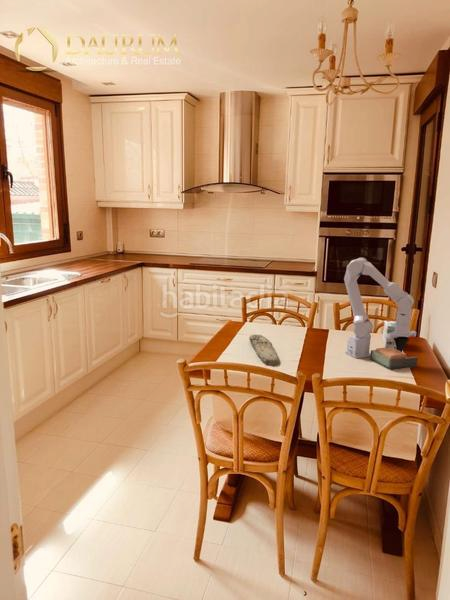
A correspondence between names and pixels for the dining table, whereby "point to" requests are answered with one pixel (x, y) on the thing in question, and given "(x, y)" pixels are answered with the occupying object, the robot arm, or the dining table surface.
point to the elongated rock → (264, 349)
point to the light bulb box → (388, 328)
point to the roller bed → (393, 361)
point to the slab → (391, 353)
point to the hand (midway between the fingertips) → (399, 352)
